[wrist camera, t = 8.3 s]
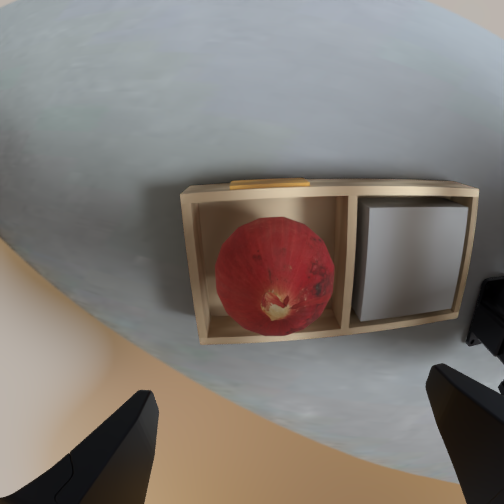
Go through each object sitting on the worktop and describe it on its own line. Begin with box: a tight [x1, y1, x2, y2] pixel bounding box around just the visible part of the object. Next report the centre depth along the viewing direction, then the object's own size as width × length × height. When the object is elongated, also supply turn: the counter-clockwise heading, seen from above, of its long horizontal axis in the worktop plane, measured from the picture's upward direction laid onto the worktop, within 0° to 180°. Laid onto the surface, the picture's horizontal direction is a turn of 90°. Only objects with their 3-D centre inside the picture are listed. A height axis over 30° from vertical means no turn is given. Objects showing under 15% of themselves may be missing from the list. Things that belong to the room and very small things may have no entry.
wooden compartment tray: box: [180, 178, 479, 345], centre depth 18 cm, size 18×9×3 cm, turn 93°
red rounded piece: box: [215, 217, 335, 336], centre depth 15 cm, size 6×6×8 cm
